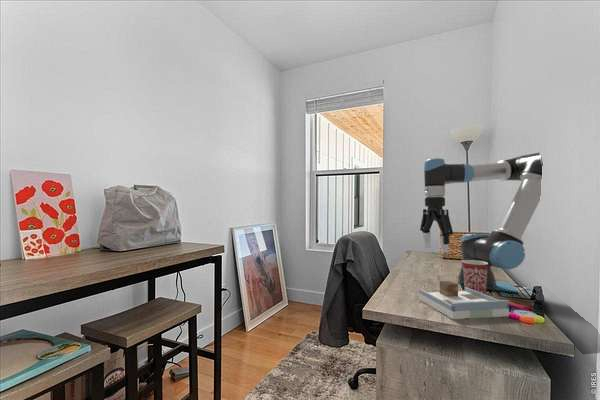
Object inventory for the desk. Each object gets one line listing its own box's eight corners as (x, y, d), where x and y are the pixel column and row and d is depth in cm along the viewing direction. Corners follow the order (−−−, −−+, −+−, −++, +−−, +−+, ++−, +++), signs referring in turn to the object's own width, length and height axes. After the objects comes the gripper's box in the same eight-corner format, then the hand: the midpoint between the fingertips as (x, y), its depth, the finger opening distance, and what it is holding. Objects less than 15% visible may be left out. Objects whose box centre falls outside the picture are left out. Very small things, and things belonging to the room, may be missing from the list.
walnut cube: (450, 292, 113) (450, 280, 114) (458, 296, 109) (457, 284, 109) (439, 293, 113) (439, 281, 113) (446, 296, 108) (446, 284, 108)
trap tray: (466, 297, 116) (466, 284, 116) (509, 316, 96) (508, 300, 96) (419, 299, 113) (419, 286, 113) (452, 319, 93) (452, 303, 93)
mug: (491, 300, 112) (490, 264, 112) (464, 297, 115) (463, 263, 116) (484, 291, 123) (484, 259, 124) (460, 289, 127) (460, 257, 127)
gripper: (411, 197, 131) (412, 246, 130) (444, 195, 107) (445, 255, 107) (426, 197, 132) (427, 246, 131) (463, 195, 108) (464, 254, 108)
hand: (435, 250), depth 119 cm, fingers open, 11 cm apart
